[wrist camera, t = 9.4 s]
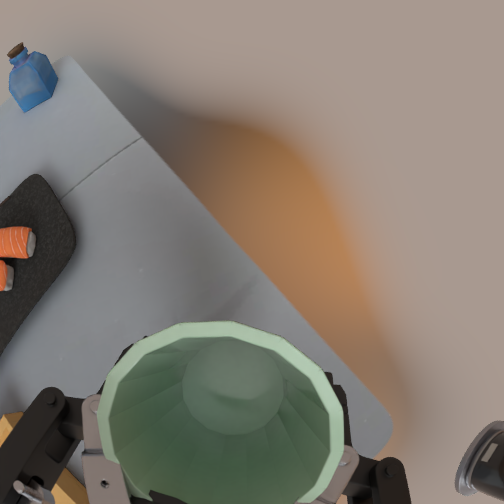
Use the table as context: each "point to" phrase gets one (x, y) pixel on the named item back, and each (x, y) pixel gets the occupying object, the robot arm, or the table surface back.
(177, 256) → the table surface
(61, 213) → the sushi plate
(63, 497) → the tray
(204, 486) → the teacup
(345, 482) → the robot arm
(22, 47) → the perfume bottle
